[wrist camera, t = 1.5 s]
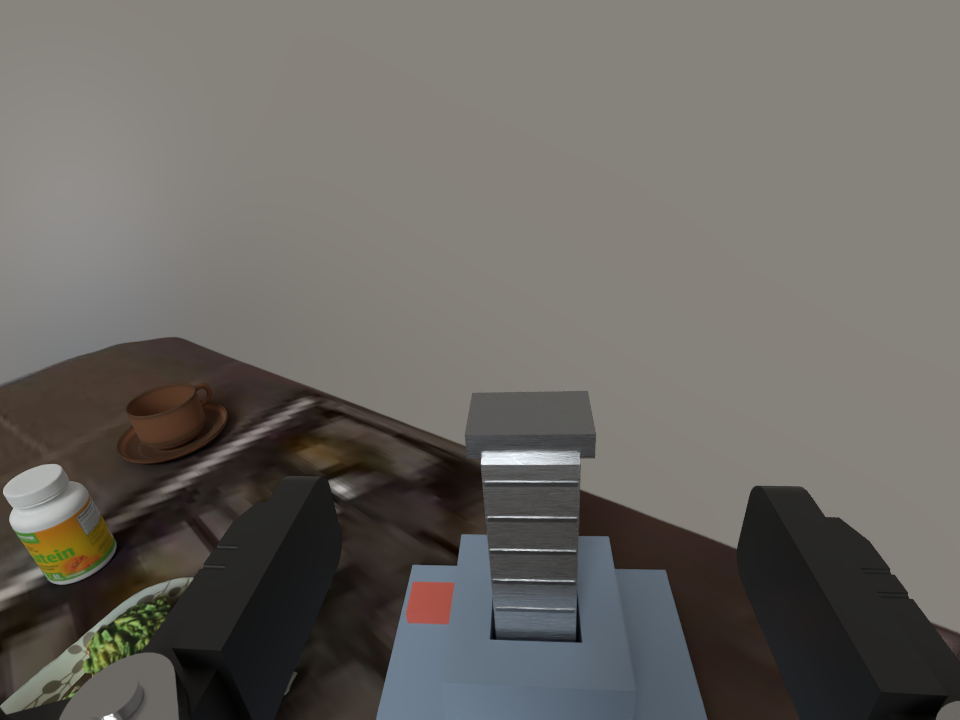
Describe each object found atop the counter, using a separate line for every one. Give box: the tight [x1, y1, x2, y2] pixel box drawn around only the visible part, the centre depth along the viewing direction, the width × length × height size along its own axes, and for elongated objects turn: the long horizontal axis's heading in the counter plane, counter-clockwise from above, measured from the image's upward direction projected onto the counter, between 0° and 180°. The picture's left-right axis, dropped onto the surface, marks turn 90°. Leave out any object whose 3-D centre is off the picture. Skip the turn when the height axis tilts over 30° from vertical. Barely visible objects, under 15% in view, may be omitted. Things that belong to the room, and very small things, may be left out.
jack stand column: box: [465, 391, 596, 643], centre depth 27 cm, size 5×4×21 cm
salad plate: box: [0, 577, 297, 715], centre depth 33 cm, size 19×18×5 cm
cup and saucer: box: [117, 383, 227, 464], centre depth 61 cm, size 12×12×6 cm
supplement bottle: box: [3, 464, 116, 585], centre depth 44 cm, size 5×5×10 cm
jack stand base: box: [376, 535, 708, 720], centre depth 30 cm, size 20×20×11 cm
